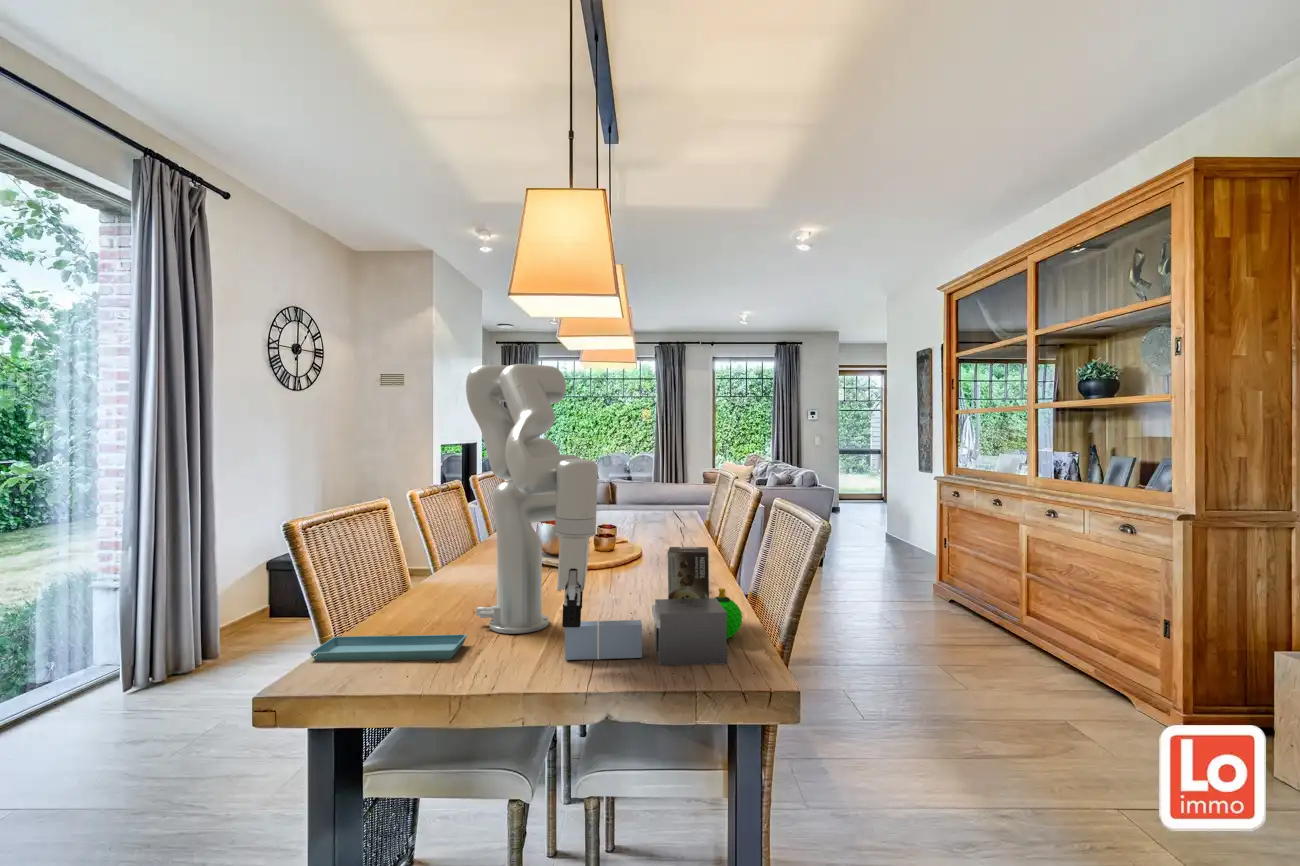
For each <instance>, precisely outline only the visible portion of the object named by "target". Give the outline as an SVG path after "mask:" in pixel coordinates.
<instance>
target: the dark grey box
mask: <svg viewBox="0 0 1300 866" xmlns="http://www.w3.org/2000/svg"><path fill="white" fill-rule="evenodd" d="M651 613H652V617H653V621H654V648H655V652H656V653H658V663H659V666H660V667H663V666H664V667H665V666H694V665H695V666H696V665H698V666H701V665H703V666H704V665H726V664H728V660H727V657H728V655H727V653H728V652H727V651H728V650H727V649H728V647H727V646H728V644H727V640H728V639H727V612H726V611H725V609H724V608H723V607H722V605H721V604H720V603H719V601H718V600H717V599H716V598H715V597H711V598H710V597H709V598H699V599H668V598H665V599H664V598H659V599H656V598H655V599H654V604H652V605H651Z"/></svg>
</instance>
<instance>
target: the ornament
mask: <svg viewBox="0 0 1300 866" xmlns="http://www.w3.org/2000/svg"><path fill="white" fill-rule="evenodd" d="M725 594H726V588H722V587H721V588H720V587H719V588H718V596H716V597H714V598H716V599H717V600H718V601H719V603H720V604H721V605H722V607H723V608H724V609H725V611H726V612H727V640H728V639H730V638H733V637H734V635H735V634H737V633H738V631H739V630H740V629H741V625H742V623H743V621H742V619H743V615H742V614H743V613H742V611H741V608H740V607H739V606H738V604H736V602H734V600H732V599H731V598H729V597H727V596H726V595H725Z"/></svg>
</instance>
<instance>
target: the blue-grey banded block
mask: <svg viewBox="0 0 1300 866" xmlns="http://www.w3.org/2000/svg"><path fill="white" fill-rule="evenodd" d="M638 658H639V659H641V658H643V624H642V620H641V619H631V620H629V619H625V620H588V621H587V620H585V621H583V620H582V621H581V625H580V627H564V660H565V661H571V660H574V661H575V660H579V661H580V660H609V659H614V660H615V659H638Z"/></svg>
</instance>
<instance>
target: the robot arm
mask: <svg viewBox="0 0 1300 866" xmlns="http://www.w3.org/2000/svg"><path fill="white" fill-rule="evenodd" d="M465 381H466V382H465V392H466V393H465V394H466V400H467V404H468V406H469V409H470V412H471V414H472V417H474V419H475V421H476V423H477V424H478V427H479V429H480V431H481V434H482V439H483V443H484V447H485V451H486V455H487V459H488V463H489V466H490V469H491V472H492V474H493V475H494V476H495V477H496V478H497V479H499V480H504V481H503V482H500V483H499V484H498V485H497V486H496V487H495V489H494V491H493V494H492V509H493V513H494V520H495V528H496V530H495V531H496V560H497V561H496V604H495V605H491V607H489V606H488V607H487V606H477V607H476V610H475V613H476V616H477V617H479V619H485V618H491V619H490V621H489V624H488V627H489V629H490V630H491V631H493V632H496V633H500V634H507V635H508V634H512V635H513V634H514V635H515V634H516V635H518V634H528V633H533V632H537V631H540V630H543V629H545V628H547V626H548V625H549V624H550V618H549V617H548V615H545V614H543V613H542V611H543V608H542V605H543V603H542V602H543V601H542V597H543V595H542V593H543V591H542V589H543V588H542V587H543V585H542V584H543V583H542V581H543V565H542V564H543V563H542V561H543V557H542V556H543V545H542V540H541V538H540V536H539V534H538V533H537V532H536V530H535V529H534V528H533V526H532V523H538V522H539V523H540V522H552V521H554V522H555V523H554V534H555V535H556V536H557V537H560V538H559V546H558V547H559V548H558V549H559V550H558V567H557V569H558V571H557V591H558V592H559V593H560V592H561V591H564V599H563V600H564V601H563V603H562V622H561V624H562V628H565V627H580V625H581V619H582V609H583V594H584V593H583V591H584V590H585V586H586V580H587V573H588V565H589V548H590V547H589V545H590V537H594V536H596V534H597V532H596V531H597V507H598V506H597V505H598V504H597V503H598V480H599V479H598V477H599V468H598V464H597V463H596V461H593V460H592V459H591V460H590V459H585V458H584V459H583V458H581V457H579V456H578V455H573V454H572V455H571V454H561V453H560V451H559V448H558V447H557V445H556V444H555V443H554V442H553V441H552V440H550V439H547V438H540V437H539V436H542V435H544V434H545V433H547V432H548V431H549V430H550V429H551V428H552V427H553V425H554V424H555V421H556V413H555V410H554V409H553V406H552V405H553V404H554V405H556V404H558V403H560V402H562V400H563V399H564V398H565V395H566V391H567V390H566V389H567V381H566V379H565V377H564V374H563V373H562V372H561V370H560V369H558V368H557V367H556V366H551V365H541V364H529V363H528V364H527V363H514V364H511V365H506V364H505V365H503V364H482V365H481V364H480V365H478V366H475V367H473V368H472V369H471V370H470V371H469V373H468V375H467V376H466V380H465ZM501 402H503V403H504V402H505V404H506V406H507V408H506V407H505V406H504V405H502V403H501Z"/></svg>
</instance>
